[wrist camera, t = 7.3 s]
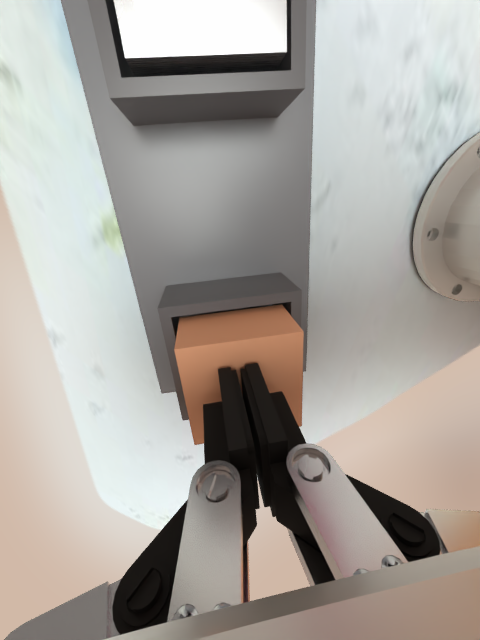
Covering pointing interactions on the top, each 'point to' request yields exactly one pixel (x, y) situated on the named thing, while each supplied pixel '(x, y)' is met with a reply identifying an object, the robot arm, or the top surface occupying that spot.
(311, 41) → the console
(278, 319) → the terracotta button
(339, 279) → the top surface
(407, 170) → the top surface
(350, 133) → the top surface
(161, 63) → the grey button
